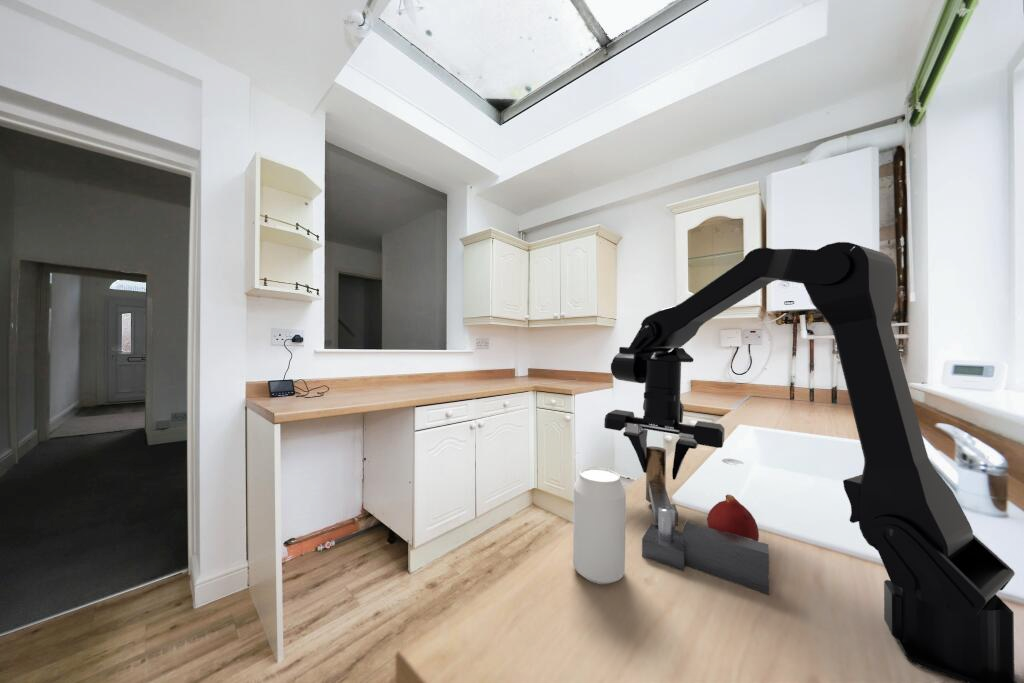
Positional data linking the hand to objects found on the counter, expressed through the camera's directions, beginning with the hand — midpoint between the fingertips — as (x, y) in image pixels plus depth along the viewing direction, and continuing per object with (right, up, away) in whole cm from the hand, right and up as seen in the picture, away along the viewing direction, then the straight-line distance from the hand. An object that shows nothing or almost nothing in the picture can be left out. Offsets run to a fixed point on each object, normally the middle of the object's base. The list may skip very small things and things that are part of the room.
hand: (659, 475), depth 60 cm
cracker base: (-2, -5, -17) cm, 17 cm away
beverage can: (-15, -5, -18) cm, 24 cm away
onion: (+4, -6, -14) cm, 15 cm away
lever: (-2, -4, -5) cm, 7 cm away
